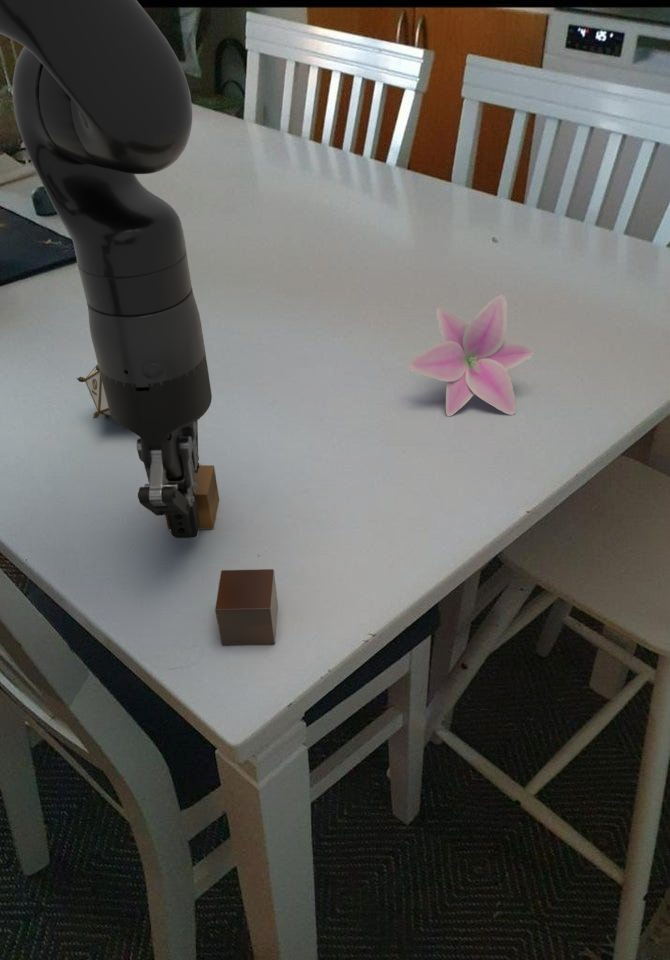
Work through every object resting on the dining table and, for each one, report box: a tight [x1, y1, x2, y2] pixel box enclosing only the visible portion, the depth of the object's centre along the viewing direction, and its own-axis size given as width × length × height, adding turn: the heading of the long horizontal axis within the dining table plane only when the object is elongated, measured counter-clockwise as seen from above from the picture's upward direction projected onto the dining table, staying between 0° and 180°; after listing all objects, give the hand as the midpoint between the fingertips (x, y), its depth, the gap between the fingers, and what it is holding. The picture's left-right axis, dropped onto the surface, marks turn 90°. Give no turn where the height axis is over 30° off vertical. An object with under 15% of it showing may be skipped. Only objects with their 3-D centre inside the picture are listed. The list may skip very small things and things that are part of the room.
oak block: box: [164, 464, 220, 530], centre depth 71 cm, size 4×4×4 cm
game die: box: [76, 363, 112, 419], centre depth 81 cm, size 9×8×10 cm
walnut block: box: [214, 568, 279, 646], centre depth 61 cm, size 4×4×4 cm
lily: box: [406, 294, 535, 417], centre depth 83 cm, size 12×12×10 cm
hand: (186, 532), depth 68 cm, fingers closed
